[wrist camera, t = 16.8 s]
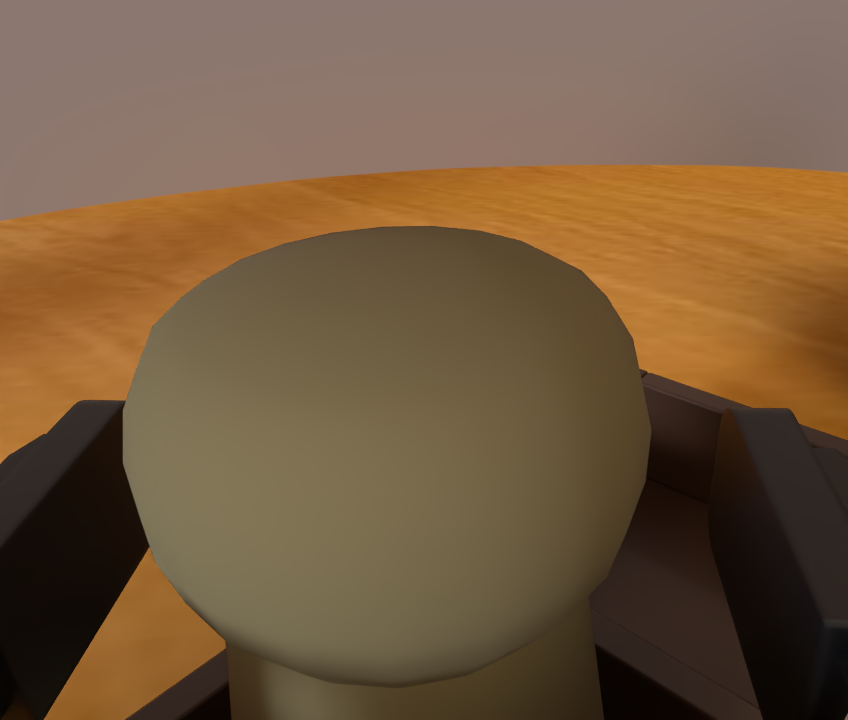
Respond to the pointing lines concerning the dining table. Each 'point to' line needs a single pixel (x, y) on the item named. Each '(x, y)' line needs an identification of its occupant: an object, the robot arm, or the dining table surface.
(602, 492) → the pawn
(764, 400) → the dining table surface
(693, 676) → the compartment tray
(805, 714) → the robot arm
